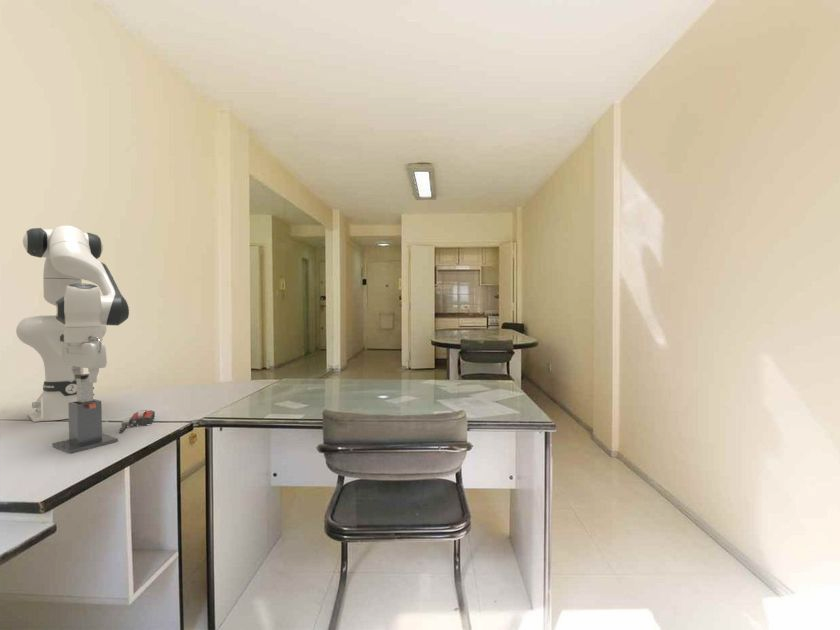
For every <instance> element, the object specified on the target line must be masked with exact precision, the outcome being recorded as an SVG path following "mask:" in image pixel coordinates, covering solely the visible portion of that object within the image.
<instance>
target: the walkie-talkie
mask: <svg viewBox="0 0 840 630" xmlns="http://www.w3.org/2000/svg"><path fill="white" fill-rule="evenodd" d="M154 417H156V416H155V411H154V410H150V409H149V410H147V409H141V410H139V411H137V412H134V413H133V414H132V416H131V417H128V418H125V419H123V420H122V421H121V427H120V428H119V429H118V432H123V431H124V430H125V428H128V427H127V426H130V427H129V428H132V427H131V426H135V427H138V426H137V425H144V426H147V425H146V424H151V425H152V424H153V422H154V420H155V418H154ZM153 419H154V420H153ZM152 421H153V422H152Z"/></svg>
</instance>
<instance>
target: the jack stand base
mask: <svg viewBox="0 0 840 630" xmlns="http://www.w3.org/2000/svg"><path fill="white" fill-rule="evenodd" d="M93 400H94V402H90V403H84V404H77V401H76V402H70V403H68V406H69V419H68V439H64V440H62V441H61V440H60V441H56V442H52V444H51V447H52V448H54V449H57V450H60V451H62V452H64V453H68V454H69V453H71V454H74V452H75V453H78V451H79V452H82V450H83V451H86V450H90V449H94V448H98V447H101V445H102V446H105V444H106V445H109V443H110V444H113V442H114V443H117V441H118V442H119V438H118V437H115V436H113V435H109V434H106V433H103V425H102V424H103V420H102V419H103V418H102V415H103V413H102V412H103V411H102V406H103V405H102V400H98V399H94V398H93ZM97 446H98V447H97ZM93 447H94V448H93ZM89 448H90V449H89Z"/></svg>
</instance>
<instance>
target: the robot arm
mask: <svg viewBox="0 0 840 630" xmlns="http://www.w3.org/2000/svg"><path fill="white" fill-rule="evenodd" d="M22 244H23V248H24V249H25V250H26V253H27V254H29V256H32V257H36V258H45V261H44V265H43V273H42V274H43V276H42V277H43V279H42V280H43V283H42V284H43V286H42V287H43V298H44V300H45V302H47V303H49V304H51V305H52V306H55V307H56V315H38V316H37V315H36V316H29V317H24V318H22V319H21V320H20V321H19V322H18V324H17V326H16V331H15V332H16V336H17V338H18V339H19V341H20V342H22V343H23V344H26V345H27V346H29V347H31V348H33V349H34V350H35V351H36V353H38V354H39V356H40V357H41V359H42V363H43V367H44V376H45V377H44V379H45V380H44V381H43V385H42V390H43V391H42V393H41V394H40V395H39V397H38V398H37V399H36V401H33V402H31V408H32V409H36V410H34V411H31V412H28V417H29V419H30V420H31V421H32V422H33V423H34V422H35V423H36V422H45V421H46V422H47V421H48V422H49V421H59V420H60V421H61V420H69V406H68V403H70V402H76V401H77V385H76V375H82V374H84V368H85V369H87V370H88V374H89V377H87V382H88V383H93V384H95V383H97V382H98V377H97V376H98V374H99V371H100V369H105V368H106V366H107V363H108V361H107V350H106V346H105V343H104V342H103V337H104V336H105V335H106V332H107V326H115V327H116V326H120V325H122V324H123V323H124V322H126V320H128V319H129V316H130V315H129V314H130V307H129V304H128V301H127V300H126V299H125V297H124V296H123V295H122V293H121V291H120V289H119V287H118V285H117V283H116V281H115V280H114V277H113V275H112V273H111V271H110V269H109V268H108V266H107V265H106V264H105V263H104V262H102V261H100V260H98V259H99V258H100V257H101V255H102V253H103V250H104V245H103V243H102V240H101V237H100V236H99V235H97V234H96V233H95V234H94V233H91V232H83V231H82V230H81V229H79V228H78V227H76V226H73V225H67V224H66V225H60V226H56V227H55V228H54V229H53V228H42V227H38V228H37V227H35V228H34V227H33V228H30V229H28V230H26V232H25V234H24V235H23V239H22ZM82 280H84V281H88V282H91V283H92V284H91V283H82ZM100 291H101V292H100ZM101 293H102V295H101Z"/></svg>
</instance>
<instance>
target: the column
mask: <svg viewBox="0 0 840 630" xmlns="http://www.w3.org/2000/svg"><path fill="white" fill-rule="evenodd" d="M87 377H89V373H83V374H82V375H76V385H77V404H84V403H90V402H94V400H93V399H94V396H95V393H94V390H95V387H94V383H88V382H87Z"/></svg>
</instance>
